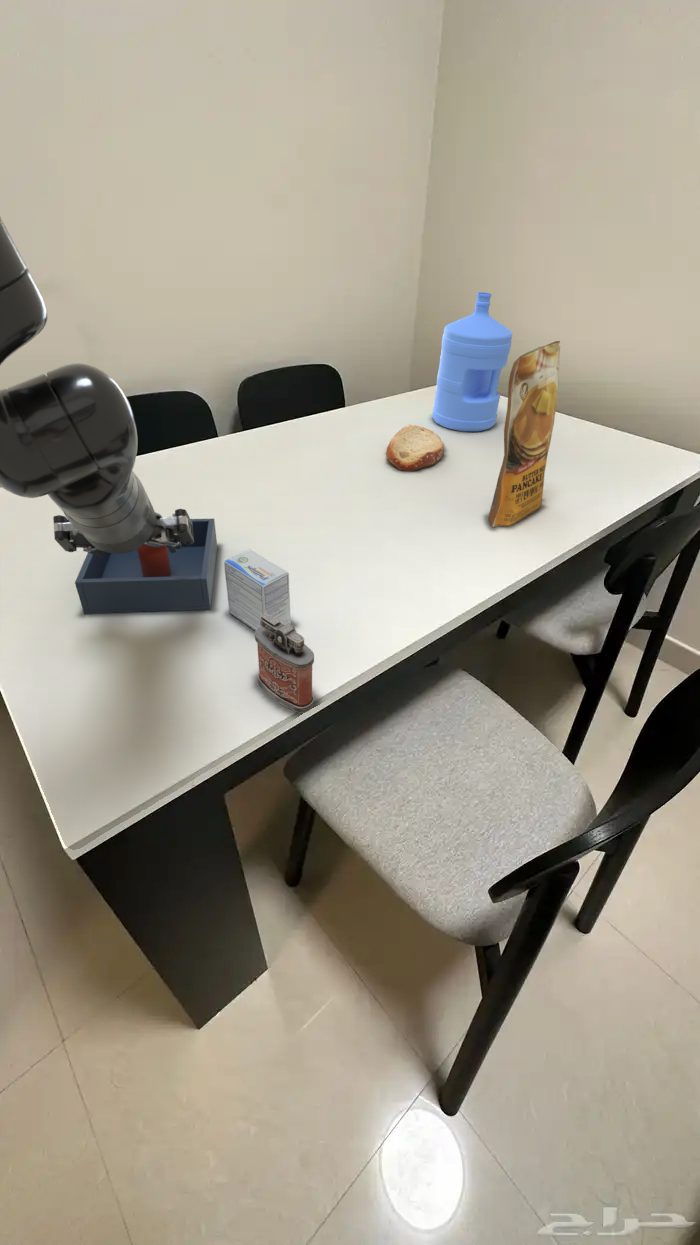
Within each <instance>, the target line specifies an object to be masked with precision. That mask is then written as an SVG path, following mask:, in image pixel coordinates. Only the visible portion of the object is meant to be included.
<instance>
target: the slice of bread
mask: <svg viewBox="0 0 700 1245" xmlns="http://www.w3.org/2000/svg"><path fill="white" fill-rule="evenodd" d="M444 451H445V444H444V442H443V441H442V439H441V437H440V435H438V434H437V433H435V432H434V431H433V430H430V429H428V428H426V427H423V426H420V425H416V424H408V425H406V426H403V427H402V428H401V429H400V430H399V431H398V432H396V433H395V435H394V436H393V437H392V438H391V439H390V441H389V443H388V445H387V447H386V452H385V457H386V459H387V460H388V461H389V462H390V463H391V465H392V466H394V467H396V468H397V469H398V470H400V471H410V472H413V471H418V470H420V469H422V468H426V467H429V466H433V465H436V464H437V463H439V461H440V460H441V458H442V457H443V455H444Z"/></svg>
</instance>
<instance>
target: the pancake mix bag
mask: <svg viewBox="0 0 700 1245" xmlns="http://www.w3.org/2000/svg"><path fill="white" fill-rule="evenodd" d="M560 343H561V341H560V340H555V341H553V342H550V343H548V344H546V345H542V346H538V347H536V348H534V349H532V350H529V351H527V352H525V353H523V354H522V355H520V356H519V357H518V358H517V359H516V360H515V361H513V363H512V367H511V368H510V369H511V370H510V372H509V373H510V374H509V378H508V387H507V389H508V390H507V405H506V406H507V407H506V414H505V419H504V420H505V421H504V428H503V459H502V463H501V466H500V470H499V473H498V478H497V482H496V485H495V490H494V494H493V497H492V502H491V506H490V508H489V509H490V510H489V513H488V517H487V522H488V524H489V525H490V526H491V528H496V527H507V528H508V527H510V526H512V525H515V524H517V523H518V522H520V521H521V520H523V519H524V518H526V517H528V516H529V515H530V514H533V513H534V512H536V511H537V510H539V509H540V508H541V507H542V501H543V496H544V495H543V494H544V485H545V484H544V483H545V473H546V467H547V463H548V462H547V461H548V455H549V450H550V446H551V443H552V442H551V441H552V435H553V430H554V426H555V418H556V411H557V405H558V396H559V382H560V380H559V373H560V372H559V370H560V352H561V351H560V350H561V345H560Z"/></svg>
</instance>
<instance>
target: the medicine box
mask: <svg viewBox="0 0 700 1245" xmlns="http://www.w3.org/2000/svg"><path fill="white" fill-rule="evenodd" d="M223 566H224V575H225V576H224V577H225V584H226V585H225V586H226V593H227V602H228V611H229V614H231V615H233V616H234V617H235V618H237V619H238V620H239V621H241V622H242V623H244V624H245V625H247V626H248V627H250V628H251V629H252V630H254V631H256V630H257V629H258V628H260V627H262V626H261V625H260V617H261V616H262V615H264V614H269V615H270V616H272V617H274V618H275V619H277V620H278V621H280V622H281V623H283V624H284V625H286V624H288V623H290V624H291V625H292V619H291V596H290V574H289V572H288V571H287V570H285V569H283V568H282V567H280V566H278V565H277V564H275V563H274V562H272V561H270V560H268V559H267V558H265V557H263V556H262V555H260V554H259V553H257V552H255V551H254V550H252V549H246V550H244V551H241V552H239V553H238V554H235V555H233V556H231V557H228V558H227V559H225V560H224V561H223Z"/></svg>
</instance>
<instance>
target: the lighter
mask: <svg viewBox="0 0 700 1245" xmlns="http://www.w3.org/2000/svg"><path fill="white" fill-rule="evenodd" d="M260 625H261V626H262V627H260V628H258V629H257V630H254V631H255V632H254V639H255V642H256V645H257V659H258V675H257V683H258V686H260V687H261V689H262V690H263V692H265V693H266V694H267V695H268V696H269V697H270V698H271V699H273V700H274V701H275V702H277V703H279V704H280V705H282V706H284V707H285V708H287V709H289V710H291V711H293V712H295V713H298V714H304V713H307V712H310V711H311V710H312V709H313V707H314V705H315V704H314V703H315V702H314V700H315V698H314V695H313V665H314V663H315V654H314V651H313V650H312V649H311V648H310V647H309V646H307V644H305V636H303V635H301V634H300V633H298V631H297V630H296V628H295V626H294V625H293V624H292V623H291V624H290V623H288V624H286V625H284V624H283V623H281V622H280V621H278V620H277V619H275V618H274V617H272V616H270V615H269V614H264V615H262V616H261V617H260Z"/></svg>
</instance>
